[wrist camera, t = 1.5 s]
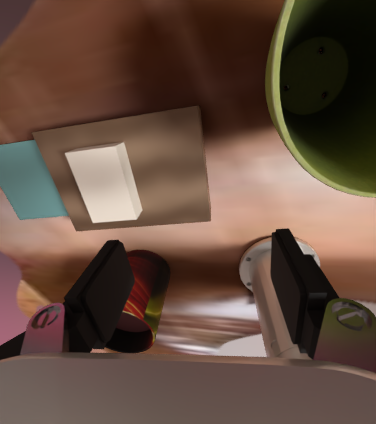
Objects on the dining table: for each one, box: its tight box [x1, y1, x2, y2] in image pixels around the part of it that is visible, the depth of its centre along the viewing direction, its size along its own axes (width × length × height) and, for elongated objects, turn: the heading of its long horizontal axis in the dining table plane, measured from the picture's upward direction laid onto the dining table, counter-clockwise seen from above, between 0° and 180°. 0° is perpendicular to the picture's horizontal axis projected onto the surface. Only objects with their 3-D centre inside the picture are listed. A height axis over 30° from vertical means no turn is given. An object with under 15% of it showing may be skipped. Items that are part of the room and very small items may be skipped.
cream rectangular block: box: [65, 142, 142, 223], centre depth 26 cm, size 9×6×2 cm, turn 8°
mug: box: [105, 250, 170, 353], centre depth 35 cm, size 10×14×12 cm
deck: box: [32, 105, 211, 231], centre depth 29 cm, size 14×20×4 cm
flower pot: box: [265, 0, 376, 198], centre depth 16 cm, size 15×15×16 cm
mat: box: [0, 140, 69, 220], centre depth 33 cm, size 12×12×1 cm
